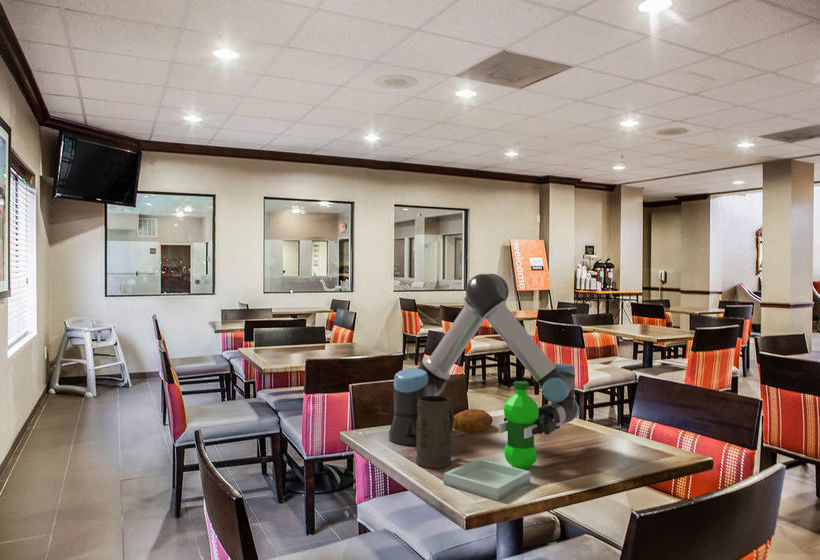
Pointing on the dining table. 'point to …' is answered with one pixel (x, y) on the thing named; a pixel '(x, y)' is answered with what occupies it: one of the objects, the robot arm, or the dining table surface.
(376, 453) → the dining table surface
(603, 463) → the dining table surface
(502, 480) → the tray
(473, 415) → the bread loaf
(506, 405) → the plastic bottle
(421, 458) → the beer stein
